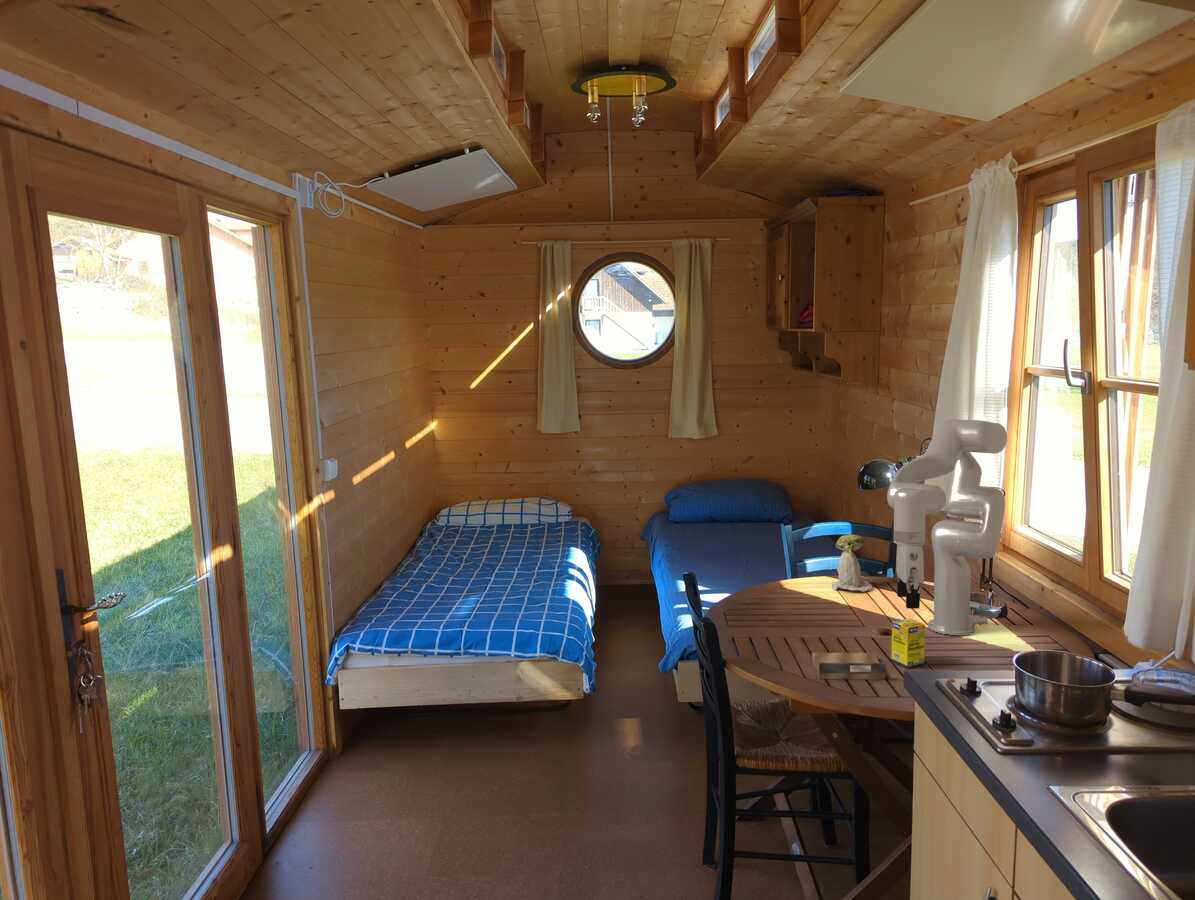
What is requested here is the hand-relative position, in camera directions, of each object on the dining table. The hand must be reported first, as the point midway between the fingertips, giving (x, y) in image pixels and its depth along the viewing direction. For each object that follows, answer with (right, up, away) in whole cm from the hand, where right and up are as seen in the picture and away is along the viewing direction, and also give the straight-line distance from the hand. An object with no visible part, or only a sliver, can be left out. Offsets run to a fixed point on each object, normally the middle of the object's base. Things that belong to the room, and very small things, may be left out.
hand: (908, 602), depth 223 cm
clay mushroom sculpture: (+5, -7, +68) cm, 69 cm away
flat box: (-15, -17, 0) cm, 23 cm away
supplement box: (+1, -16, +3) cm, 17 cm away
